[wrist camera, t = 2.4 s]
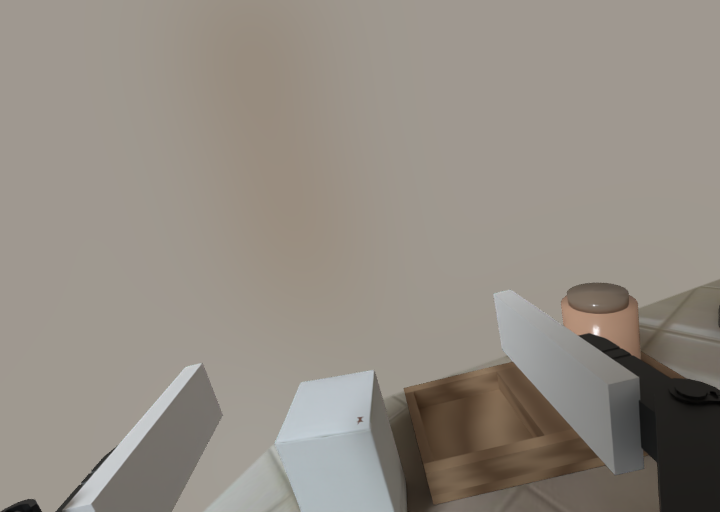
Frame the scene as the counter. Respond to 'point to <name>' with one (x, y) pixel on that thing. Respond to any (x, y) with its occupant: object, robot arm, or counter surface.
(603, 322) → the terracotta jar
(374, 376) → the supplement box
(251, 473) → the counter surface
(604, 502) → the counter surface
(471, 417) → the walnut two-slot caddy
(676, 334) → the counter surface
